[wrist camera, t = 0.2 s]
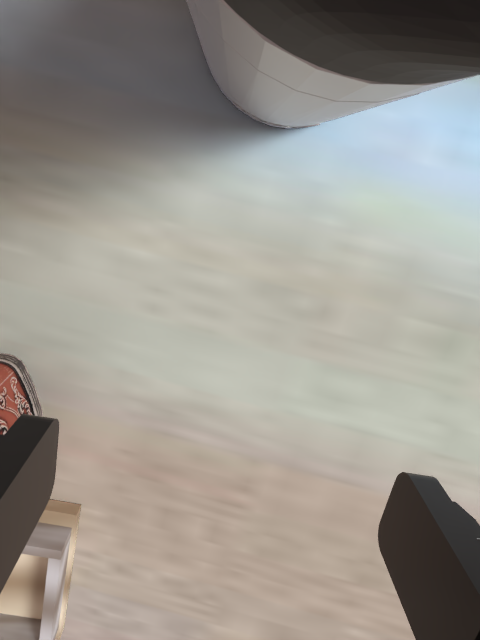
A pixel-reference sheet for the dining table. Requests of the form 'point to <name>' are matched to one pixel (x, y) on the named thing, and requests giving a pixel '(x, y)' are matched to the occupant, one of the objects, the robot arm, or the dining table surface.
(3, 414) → the lighter
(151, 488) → the dining table surface
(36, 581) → the tray
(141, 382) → the dining table surface
